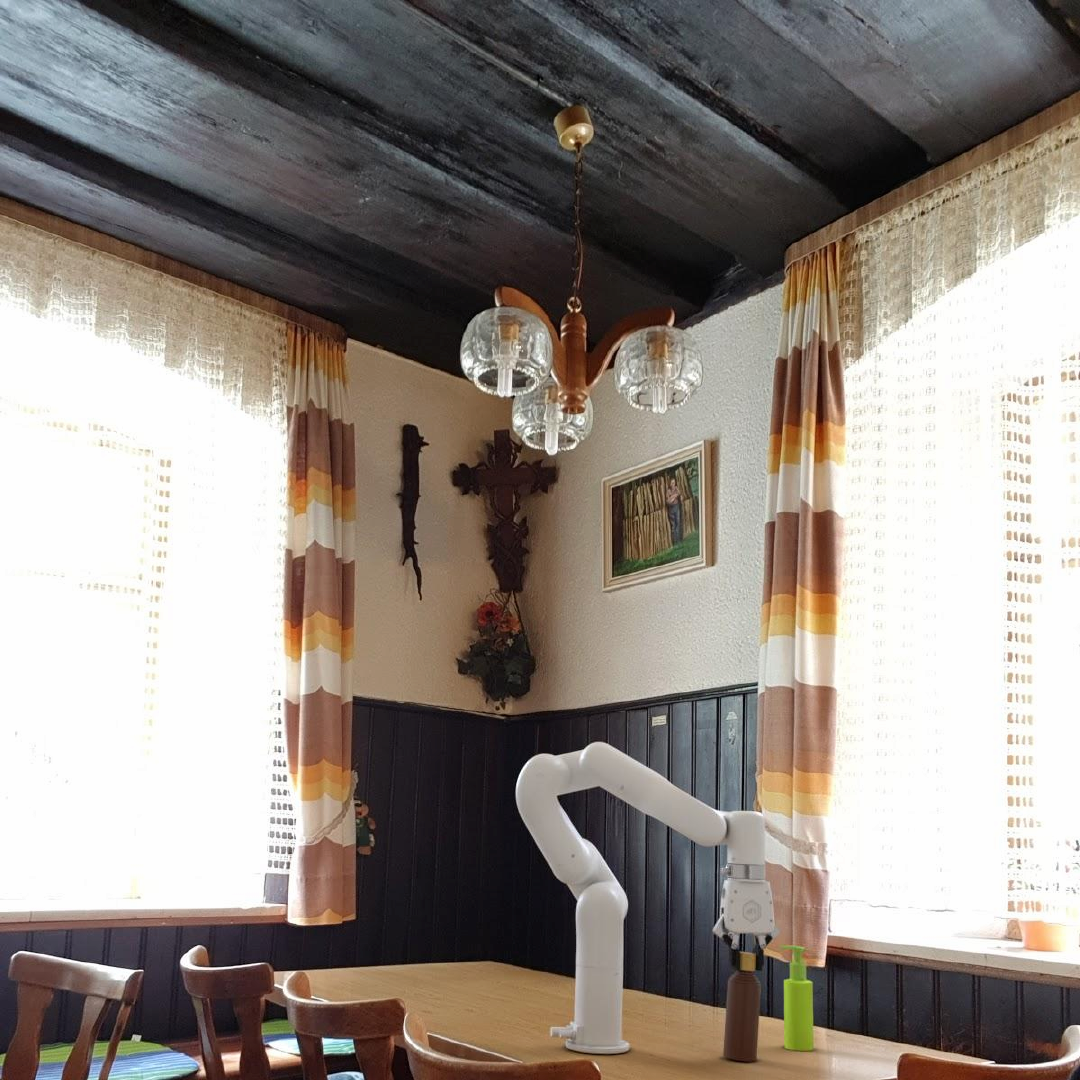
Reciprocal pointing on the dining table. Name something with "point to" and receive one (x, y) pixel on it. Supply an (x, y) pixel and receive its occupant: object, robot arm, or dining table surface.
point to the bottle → (742, 1016)
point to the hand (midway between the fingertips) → (746, 968)
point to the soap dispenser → (798, 1005)
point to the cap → (747, 961)
